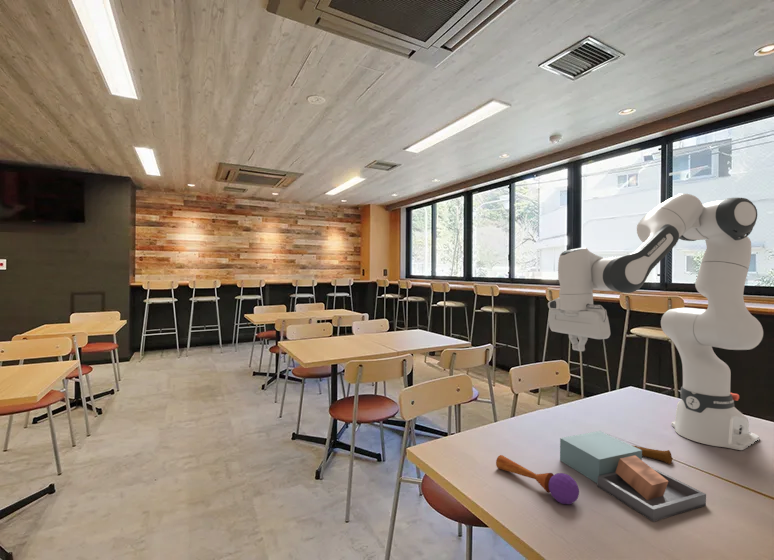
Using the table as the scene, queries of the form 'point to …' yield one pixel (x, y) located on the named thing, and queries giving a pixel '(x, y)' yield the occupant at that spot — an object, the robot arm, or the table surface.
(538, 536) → the table surface
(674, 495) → the box
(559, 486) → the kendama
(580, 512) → the table surface
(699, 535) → the table surface
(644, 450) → the primitive tool
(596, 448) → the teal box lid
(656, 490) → the terracotta block
